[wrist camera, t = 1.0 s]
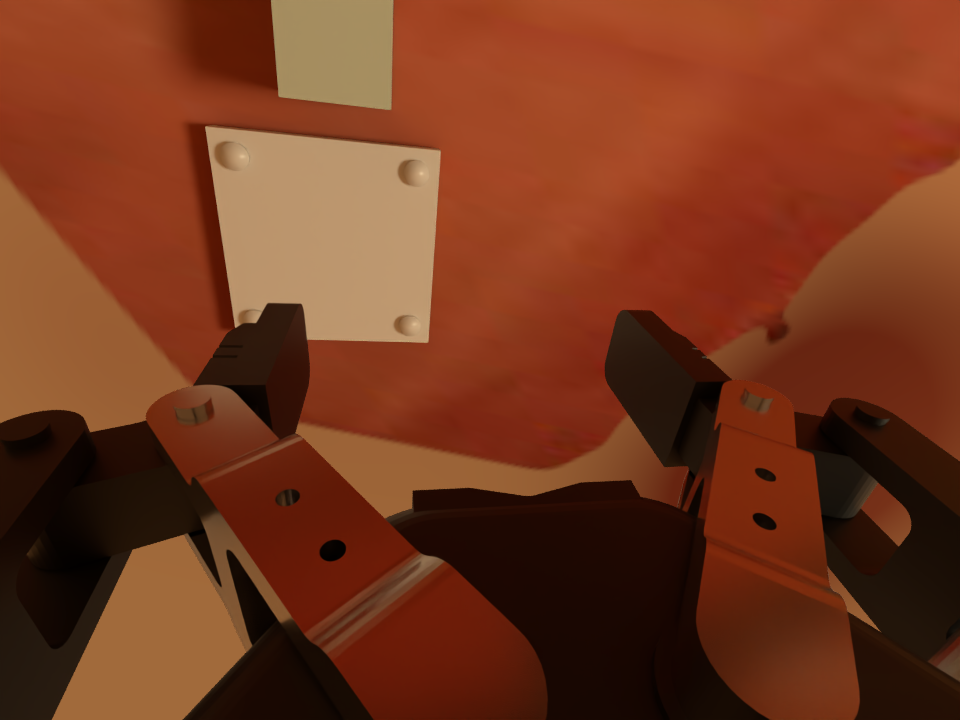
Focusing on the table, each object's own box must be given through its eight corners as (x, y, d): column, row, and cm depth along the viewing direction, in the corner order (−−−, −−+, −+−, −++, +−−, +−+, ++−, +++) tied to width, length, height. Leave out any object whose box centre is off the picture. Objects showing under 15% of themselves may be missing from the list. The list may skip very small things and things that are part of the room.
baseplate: (211, 124, 29) (202, 126, 28) (439, 148, 32) (441, 151, 31) (241, 330, 36) (235, 340, 35) (427, 335, 39) (428, 344, 37)
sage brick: (291, -20, 27) (267, -45, 22) (393, -3, 28) (393, -23, 23) (298, 94, 29) (278, 96, 24) (391, 105, 30) (391, 110, 25)
